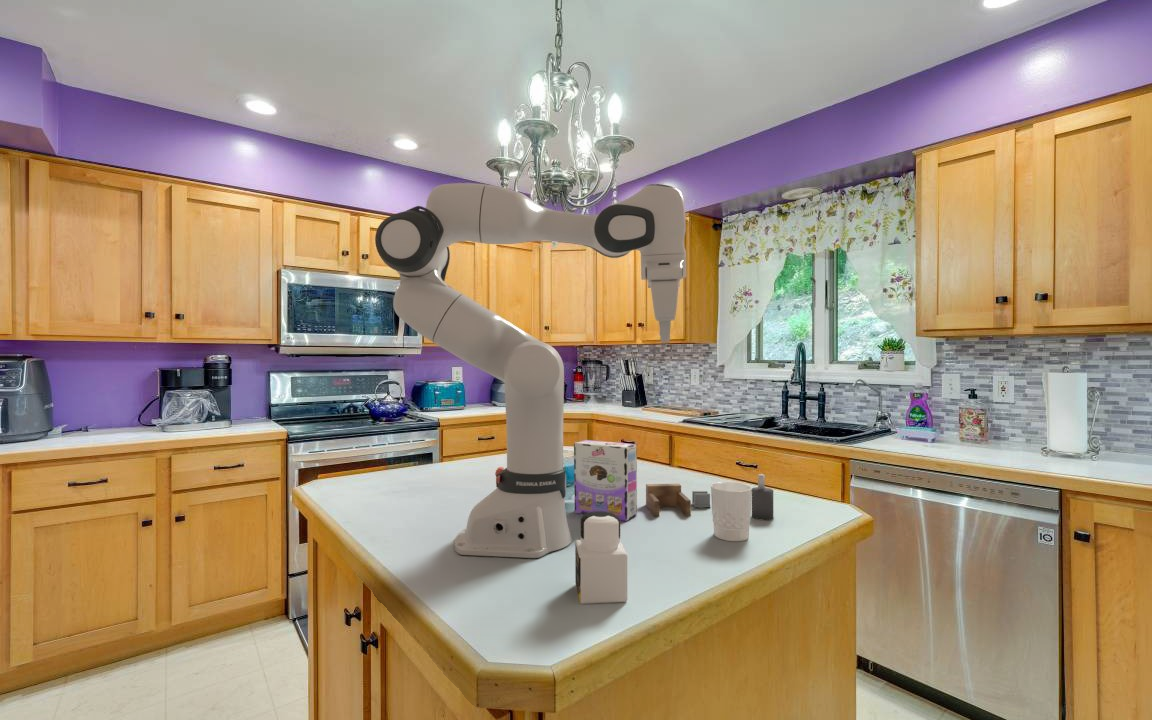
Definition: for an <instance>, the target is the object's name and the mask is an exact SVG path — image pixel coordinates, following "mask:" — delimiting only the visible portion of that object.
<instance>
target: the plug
mask: <svg viewBox="0 0 1152 720" xmlns="http://www.w3.org/2000/svg"><path fill="white" fill-rule="evenodd" d="M765 479H766V477H765V474H763V473H761V474H758V475H757V487H756V486H755V487H751V488H752V494H751V517H752V518H753V519H755V520H758V521H759V520H760V521H771V520H774V489H772V488H770V487H769V488H768V487H766V485H765V484H766V481H765Z"/></svg>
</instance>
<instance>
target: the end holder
mask: <svg viewBox="0 0 1152 720" xmlns="http://www.w3.org/2000/svg"><path fill="white" fill-rule="evenodd" d="M645 506H646V507H647V506H648V507H647V508H648V510H649V511H650V510H651V511H650V513H652V515H653V516H654V517H655V518H656V517H657V518H658V517H659V518H660V507H659V506H670V507H677V506H678V507H679V508H680V509H681V510H680V509H679V508H678V507H677V508H678V509H679V510H680V511H681V513H683V514H684V515H685V517H691V516H692V513H691V511H692V508H691V507H692V499H690V498H689V497H687V496H686V495H685V494H684V493H683V492H682V485H681V484H680V483H650V484H649V483H648V484H645Z"/></svg>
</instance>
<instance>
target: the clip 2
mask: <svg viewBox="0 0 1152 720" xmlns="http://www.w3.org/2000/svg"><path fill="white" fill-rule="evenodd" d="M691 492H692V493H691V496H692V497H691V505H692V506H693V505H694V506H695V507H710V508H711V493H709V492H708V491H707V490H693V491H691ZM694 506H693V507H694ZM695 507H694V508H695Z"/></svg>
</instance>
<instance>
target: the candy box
mask: <svg viewBox="0 0 1152 720" xmlns="http://www.w3.org/2000/svg"><path fill="white" fill-rule="evenodd" d="M637 449H638V448H637V444H634V443H625V442H613V441H604V440H603V441H602V440H600V441H599V440H591V439H590V440H589V439H585V440H581V441H580V440H579V441H577V442H574V443H573V468H574V469H573V475H574V477H573V481H574V482H573V483H574V484H573V485H574V510H573V511H574V513H576V514H581V515H585V514H587V513H590V512H595V511H605V512H610V513H613V514H615V515H617V516H618V517H619V518H620V521H623V522H627V521H629V520H631V519H633V518H634V517H636V516H637V515H638V498H637V497H638V488H637V487H638V477H637V476H638V474H637V472H638V471H637V470H638V468H637V467H638V465H637V464H638V463H637V462H638V461H637V458H638V456H637V455H638V454H637V453H638V452H637Z"/></svg>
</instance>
